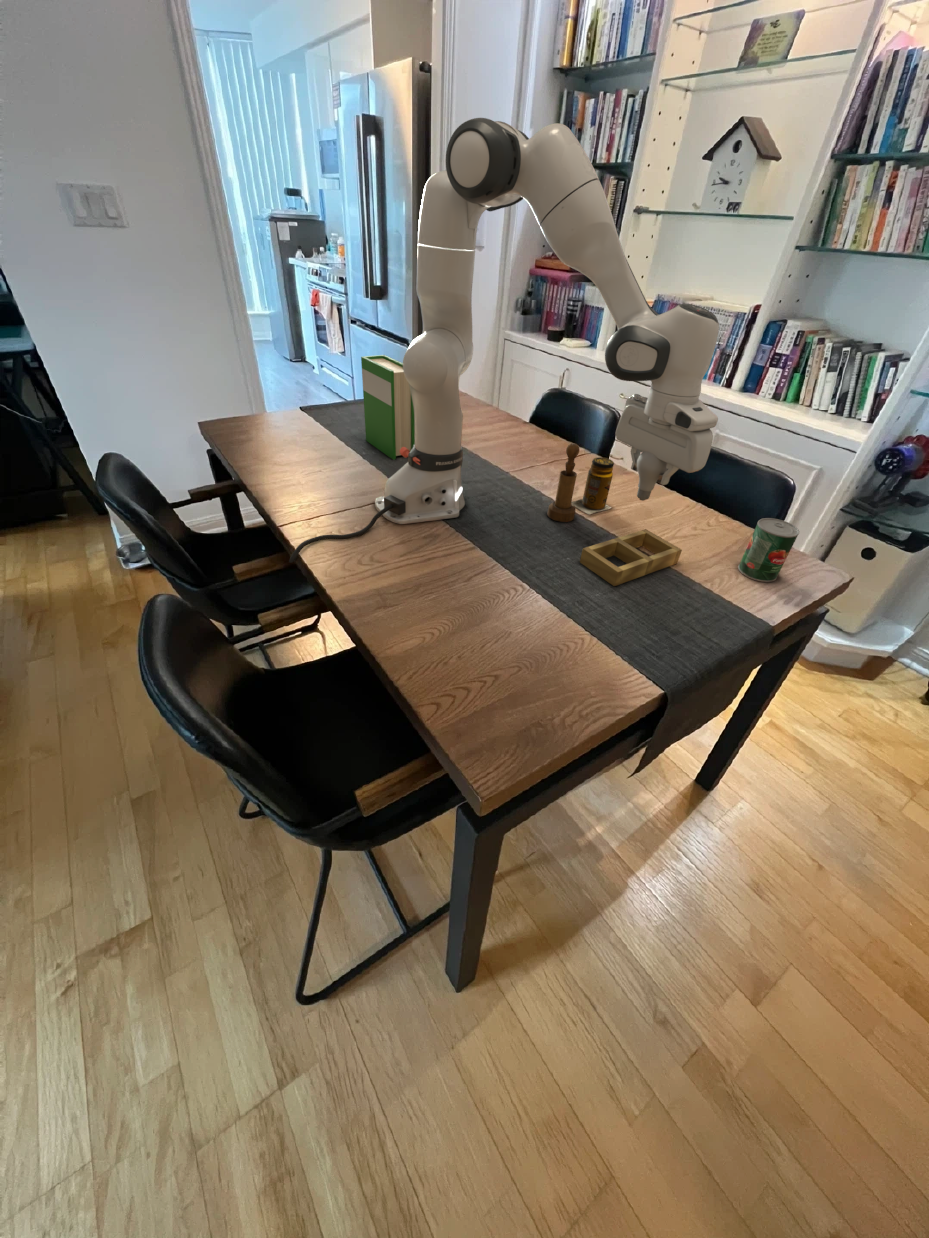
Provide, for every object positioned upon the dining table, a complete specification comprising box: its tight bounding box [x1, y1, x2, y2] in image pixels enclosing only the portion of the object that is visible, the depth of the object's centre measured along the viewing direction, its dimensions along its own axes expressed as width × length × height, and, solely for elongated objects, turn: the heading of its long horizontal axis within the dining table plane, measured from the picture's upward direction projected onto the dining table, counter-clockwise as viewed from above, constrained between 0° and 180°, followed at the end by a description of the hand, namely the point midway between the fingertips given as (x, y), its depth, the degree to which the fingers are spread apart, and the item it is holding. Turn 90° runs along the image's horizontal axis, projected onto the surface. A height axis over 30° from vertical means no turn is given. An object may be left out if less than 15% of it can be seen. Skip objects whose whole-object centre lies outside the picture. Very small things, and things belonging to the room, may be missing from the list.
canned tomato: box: [737, 517, 800, 583], centre depth 111 cm, size 8×8×11 cm
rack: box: [579, 528, 683, 587], centre depth 114 cm, size 19×10×4 cm, turn 122°
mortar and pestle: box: [546, 442, 580, 523], centre depth 125 cm, size 7×6×18 cm
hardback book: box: [360, 354, 415, 460], centre depth 153 cm, size 18×7×24 cm, turn 34°
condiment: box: [571, 456, 615, 515], centre depth 133 cm, size 7×8×12 cm
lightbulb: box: [636, 452, 668, 502], centre depth 107 cm, size 6×6×11 cm
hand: (648, 476), depth 107 cm, fingers closed on lightbulb, 6 cm apart
